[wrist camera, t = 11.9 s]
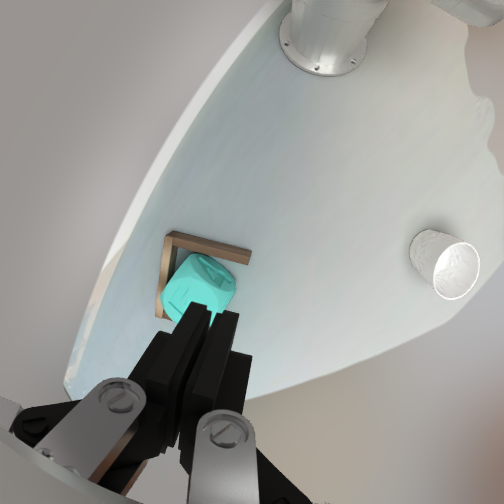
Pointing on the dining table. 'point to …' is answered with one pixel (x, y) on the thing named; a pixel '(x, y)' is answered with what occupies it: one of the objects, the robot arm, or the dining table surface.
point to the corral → (197, 245)
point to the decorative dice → (198, 287)
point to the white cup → (445, 263)
